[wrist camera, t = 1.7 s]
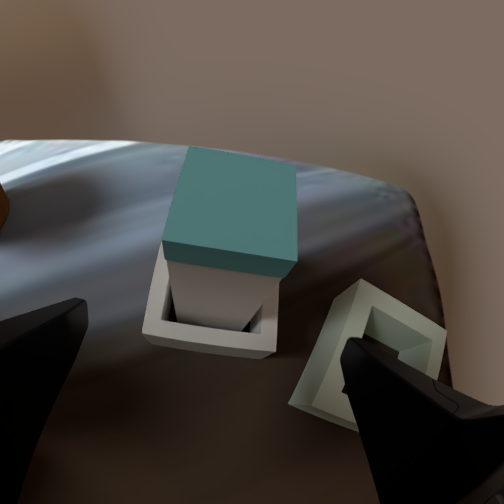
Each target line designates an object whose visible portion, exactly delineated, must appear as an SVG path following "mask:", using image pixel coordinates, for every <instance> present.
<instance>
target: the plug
mask: <svg viewBox="0 0 504 504" xmlns="http://www.w3.org/2000/svg"><path fill="white" fill-rule="evenodd" d="M162 246H163V252H164V258H165V260H167V267H168V273H169V279H170V285H171V290H172V296H173V301H174V307H175V312H176V317H177V322H178V323H181V324H188V325H194V326H201V327H207V328H214V329H222V330H229V331H238V332H241V331H242V330H243V328H244V327H245V326H246V325H247V323H248V322H249V321H250V320H251V318H252V317H253V316H254V314H255V313H256V312H257V311H258V309H259V308H260V307H261V305H262V304H263V303H264V302H265V300H266V299H267V298H268V296H269V295H270V294H271V292H272V291H273V290H274V289H275V287H276V286H277V285H278V283H279V282H280V281H281V279H282V278H285V277H286V276H287V274H288V273H289V272H290V270H291V269H292V268H293V267H294V265H295V264H296V263H297V193H296V166H295V165H290V164H286V163H281V162H276V161H272V160H267V159H262V158H257V157H252V156H246V155H241V154H235V153H229V152H224V151H217V150H211V149H205V148H198V147H191V146H189V149H188V152H187V155H186V158H185V161H184V164H183V167H182V170H181V173H180V176H179V180H178V183H177V186H176V190H175V193H174V196H173V200H172V203H171V207H170V210H169V214H168V217H167V221H166V225H165V229H164V232H163V236H162Z"/></svg>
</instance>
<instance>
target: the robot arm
mask: <svg viewBox="0 0 504 504" xmlns="http://www.w3.org/2000/svg"><path fill="white" fill-rule="evenodd" d="M88 323H89V321H88V309H87V302H86V301H85V300H84V299H80V298H72V299H69V300H66V301H62V302H59V303H56V304H53V305H50V306H47V307H43V308H40V309H37V310H34V311H31V312H28V313H25V314H21V315H18V316H15V317H12V318H9V319H6V320H3V321H0V504H17V503H18V499H19V496H20V492H21V489H22V486H23V483H24V479H25V476H26V473H27V470H28V468H29V465H30V461H31V459H32V456H33V453H34V450H35V448H36V445H37V443H38V440H39V438H40V435H41V433H42V430H43V428H44V425H45V423H46V421H47V418H48V416H49V414H50V412H51V409H52V407H53V405H54V403H55V400H56V398H57V396H58V394H59V392H60V390H61V388H62V386H63V384H64V382H65V379H66V377H67V375H68V373H69V371H70V369H71V368H72V365H73V363H74V361H75V359H76V356H77V354H78V351H79V348H80V346H81V343H82V341H83V338H84V336H85V333H86V331H87V328H88ZM340 364H341V369H342V373H343V378H344V382H345V387H346V392H347V396H348V399H349V402H350V405H351V408H352V411H353V414H354V417H355V421H356V424H357V427H358V430H359V433H360V436H361V439H362V443H363V446H364V449H365V452H366V456H367V459H368V462H369V466H370V469H371V472H372V476H373V479H374V483H375V486H376V490H377V493H378V494H379V495H378V498H379V501H380V504H504V405H502V406H492V405H487V404H485V403H483V402H480V401H478V400H476V399H473V398H471V397H469V396H467V395H465V394H463V393H460V392H458V391H456V390H454V389H452V388H450V387H448V386H446V385H444V384H442V383H441V382H439V381H437V380H435V379H432V378H431V377H429V376H428V375H426V374H424V373H422V372H420V371H419V370H417V369H415V368H413V367H411V366H410V365H408V364H406V363H404V362H402V361H401V360H399V359H397V358H395V357H393V356H392V355H390V354H388V353H386V352H385V351H383V350H381V349H379V348H378V347H376V346H374V345H372V344H370V343H369V342H367V341H365V340H363V339H362V338H360V337H349V338H348V339H347V341H346V344H345V346H344V348H343V351H342V353H341V356H340Z"/></svg>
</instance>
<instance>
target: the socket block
mask: <svg viewBox="0 0 504 504" xmlns="http://www.w3.org/2000/svg"><path fill="white" fill-rule="evenodd" d="M363 333H364V334H366V335H368V336H370V337H372V338H374V339H376V340H378V341H380V342H381V343H383V344H385V345H387V346H389V347H391V348H393V349H395V350H397V351H399V355H398V359H399V360H401V361H402V362H404V363H406V364H408V365H410V366H411V367H413V368H415V369H417V370H419V371H420V372H422V373H424V374H426V375H428V376H429V377H431V378H432V379H435V380H437V379H438V375H439V370H440V366H441V361H442V356H443V351H444V346H445V340H446V334H447V331H446V330H445V329H443V328H442V327H440V326H439V325H437V324H435V323H434V322H432V321H431V320H429V319H427V318H426V317H424V316H423V315H421V314H419V313H418V312H416V311H414V310H413V309H411V308H410V307H408V306H406V305H405V304H403V303H401V302H400V301H398V300H396V299H395V298H393V297H391V296H390V295H388V294H386V293H385V292H383V291H381V290H380V289H378V288H376V287H375V286H373V285H371V284H370V283H368V282H366V281H365V280H363V279H359V280H358V281H357V282H355V283H354V284H353V285H352V286H350V287H349V288H348V289H346V290H345V291H344V292H342V293H341V294H340V295H338V296H337V297H336V298H334V300H333V302H332V305H331V308H330V310H329V313H328V315H327V318H326V320H325V323H324V325H323V327H322V330H321V332H320V335H319V337H318V339H317V342H316V344H315V346H314V349H313V351H312V353H311V356H310V358H309V360H308V362H307V365H306V367H305V369H304V371H303V373H302V376H301V378H300V380H299V382H298V384H297V386H296V388H295V390H294V392H293V394H292V397H291V399H290V401H289V403H288V404H289V405H291V406H294V407H296V408H298V409H301V410H303V411H305V412H308V413H310V414H313V415H315V416H317V417H320V418H322V419H325V420H327V421H330V422H333V423H335V424H338V425H341V426H343V427H346V428H349V429H352V430H354V431H357V432H359V430H358V427H357V424H356V421H355V417H354V414H353V411H352V408H351V405H350V402H349V399H348V396H347V395H346V394H344V393H342V390H343V387H344V385H345V382H344V378H343V373H342V369H341V364H340V356H341V353H342V351H343V348H344V346H345V344H346V341H347V339H348V338H349V337H360V338H362V336H363Z"/></svg>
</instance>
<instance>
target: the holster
mask: <svg viewBox="0 0 504 504" xmlns="http://www.w3.org/2000/svg"><path fill="white" fill-rule="evenodd" d="M172 298H173V296H172V290H171V285H170V279H169V273H168V267H167V260H165V258H164V252H163V246H162V241H161V245H160V249H159V253H158V257H157V261H156V266H155V270H154V274H153V279H152V284H151V288H150V293H149V298H148V303H147V308H146V313H145V318H144V324H143V329H142V334H143V335H144V336H145V337H146V339H147V340H148V341H149V342H150V343H151V344H154V345H159V346H165V347H170V348H176V349H182V350H189V351H195V352H202V353H210V354H217V355H225V356H234V357H243V358H254V359H262V358H264V357H266V356H268V355H270V354H272V353H274V352H276V342H277V322H278V300H279V283H278V285H277V286H276V287H275V289H274V290H273V291H272V292H271V294H270V295H269V296H268V298H267V299H266V300H265V302H264V303H263V304H262V305H261V307H260V308H259V309H258V311H257V312H256V313H255V314H254V316H253V317H252V318H251V320H250V333H246V332H238V331H229V330H222V329H214V328H207V327H201V326H194V325H188V324H181V323H175V322H169V315H170V309H171V303H172Z"/></svg>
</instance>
